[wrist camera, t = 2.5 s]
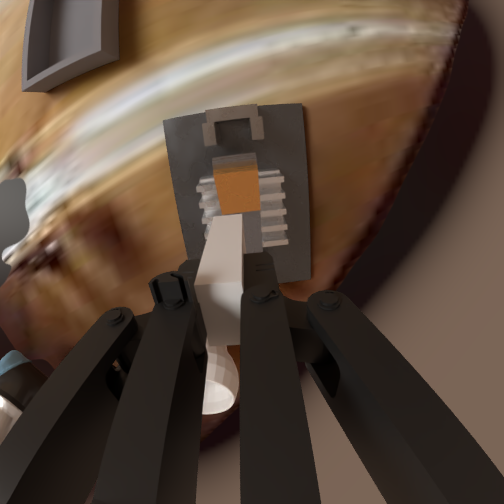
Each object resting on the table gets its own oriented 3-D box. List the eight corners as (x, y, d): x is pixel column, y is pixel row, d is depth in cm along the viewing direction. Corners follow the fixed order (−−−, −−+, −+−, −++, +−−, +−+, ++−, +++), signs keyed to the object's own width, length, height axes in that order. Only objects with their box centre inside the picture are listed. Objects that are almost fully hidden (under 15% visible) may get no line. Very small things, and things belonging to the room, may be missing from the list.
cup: (235, 305, 45) (236, 375, 31) (239, 349, 50) (241, 415, 36) (173, 307, 45) (154, 374, 31) (184, 350, 49) (173, 414, 36)
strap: (264, 292, 37) (266, 305, 36) (242, 295, 37) (244, 308, 36) (254, 148, 18) (257, 164, 17) (212, 153, 18) (212, 169, 17)
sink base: (308, 275, 43) (324, 310, 35) (197, 288, 43) (189, 325, 35) (299, 104, 32) (319, 96, 24) (165, 120, 32) (142, 118, 24)
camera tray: (46, 92, 28) (21, 91, 22) (51, -3, 18) (32, -12, 13) (120, 59, 28) (101, 50, 22) (122, -37, 18) (108, -53, 13)
